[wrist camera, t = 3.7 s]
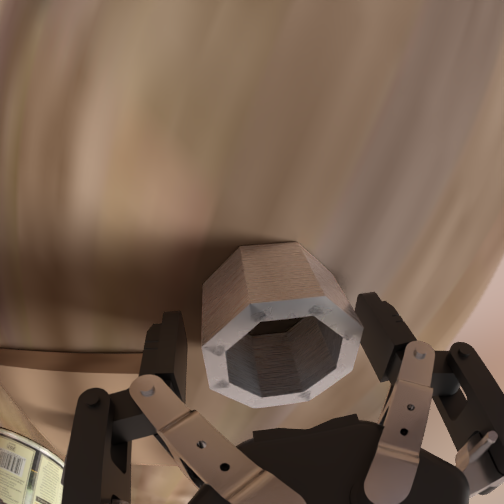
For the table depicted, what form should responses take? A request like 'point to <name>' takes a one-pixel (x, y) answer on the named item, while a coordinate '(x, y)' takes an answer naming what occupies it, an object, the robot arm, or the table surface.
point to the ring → (278, 344)
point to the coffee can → (28, 471)
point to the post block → (70, 393)
